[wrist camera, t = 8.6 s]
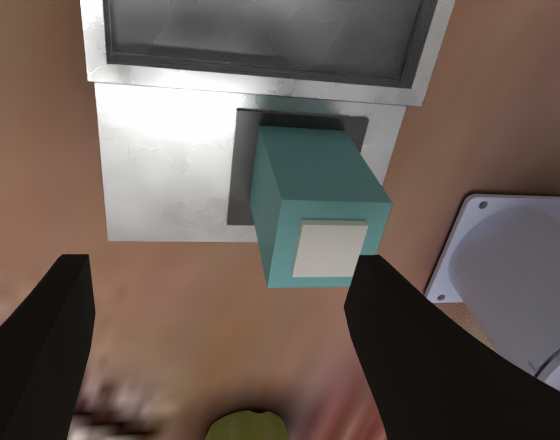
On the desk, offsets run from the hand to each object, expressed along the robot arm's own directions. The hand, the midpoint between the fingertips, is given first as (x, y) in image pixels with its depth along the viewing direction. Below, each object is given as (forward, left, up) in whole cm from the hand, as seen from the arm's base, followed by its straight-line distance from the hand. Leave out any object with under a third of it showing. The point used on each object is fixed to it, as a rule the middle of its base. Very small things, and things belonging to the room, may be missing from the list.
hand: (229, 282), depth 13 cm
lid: (-2, +2, -10) cm, 11 cm away
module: (-4, +2, -10) cm, 10 cm away
